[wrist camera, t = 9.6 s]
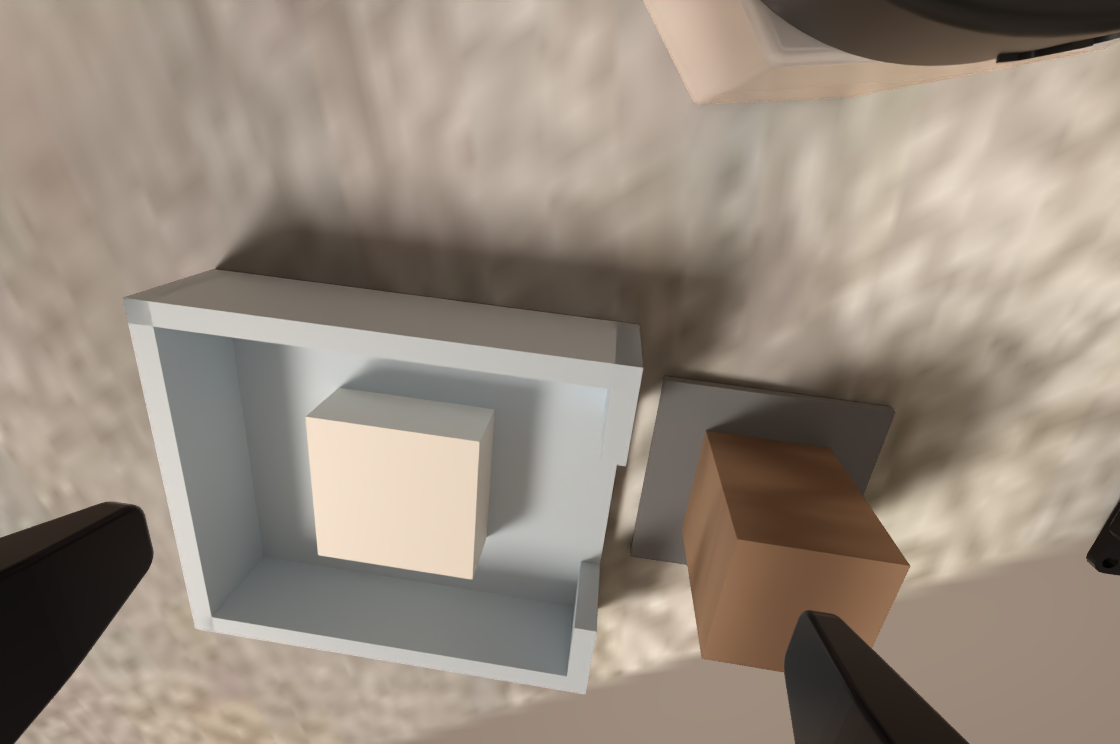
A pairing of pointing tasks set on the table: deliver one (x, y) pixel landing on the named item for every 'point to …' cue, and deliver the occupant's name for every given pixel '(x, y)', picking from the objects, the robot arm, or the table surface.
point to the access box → (388, 468)
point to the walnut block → (781, 548)
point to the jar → (865, 42)
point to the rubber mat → (745, 413)
